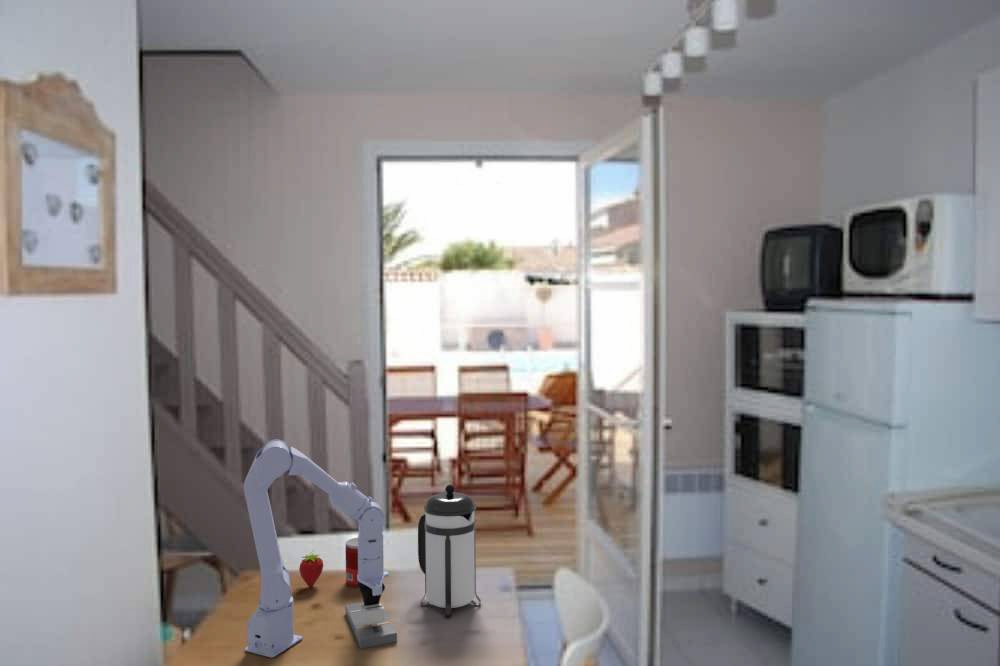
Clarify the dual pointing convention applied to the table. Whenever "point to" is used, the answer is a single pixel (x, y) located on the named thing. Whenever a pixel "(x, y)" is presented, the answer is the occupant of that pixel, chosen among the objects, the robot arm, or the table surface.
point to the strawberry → (311, 569)
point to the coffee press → (448, 550)
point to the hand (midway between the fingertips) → (371, 614)
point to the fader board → (369, 628)
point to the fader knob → (373, 614)
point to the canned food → (352, 562)
